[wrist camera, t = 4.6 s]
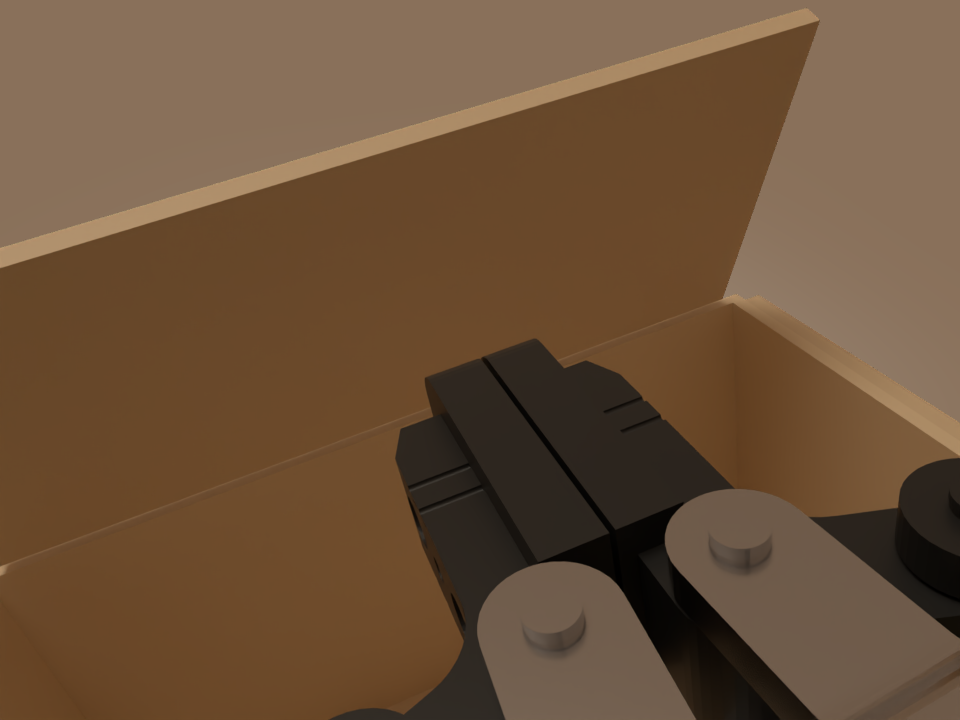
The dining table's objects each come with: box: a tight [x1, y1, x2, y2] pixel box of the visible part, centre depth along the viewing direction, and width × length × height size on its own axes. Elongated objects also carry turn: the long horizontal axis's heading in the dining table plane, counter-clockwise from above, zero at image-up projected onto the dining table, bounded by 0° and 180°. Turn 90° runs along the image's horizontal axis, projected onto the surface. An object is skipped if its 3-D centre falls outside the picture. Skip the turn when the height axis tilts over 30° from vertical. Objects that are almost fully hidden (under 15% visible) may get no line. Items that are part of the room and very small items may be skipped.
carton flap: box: [0, 8, 820, 567], centre depth 21 cm, size 22×10×1 cm
